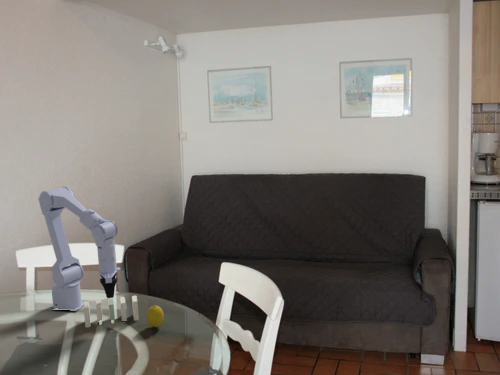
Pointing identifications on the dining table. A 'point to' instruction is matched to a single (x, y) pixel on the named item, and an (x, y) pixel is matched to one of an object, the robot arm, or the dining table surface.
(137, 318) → the domino
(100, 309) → the domino
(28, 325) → the dining table surface
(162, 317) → the lemon
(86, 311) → the light grey rectangular block
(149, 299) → the dining table surface
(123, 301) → the domino
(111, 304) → the domino
